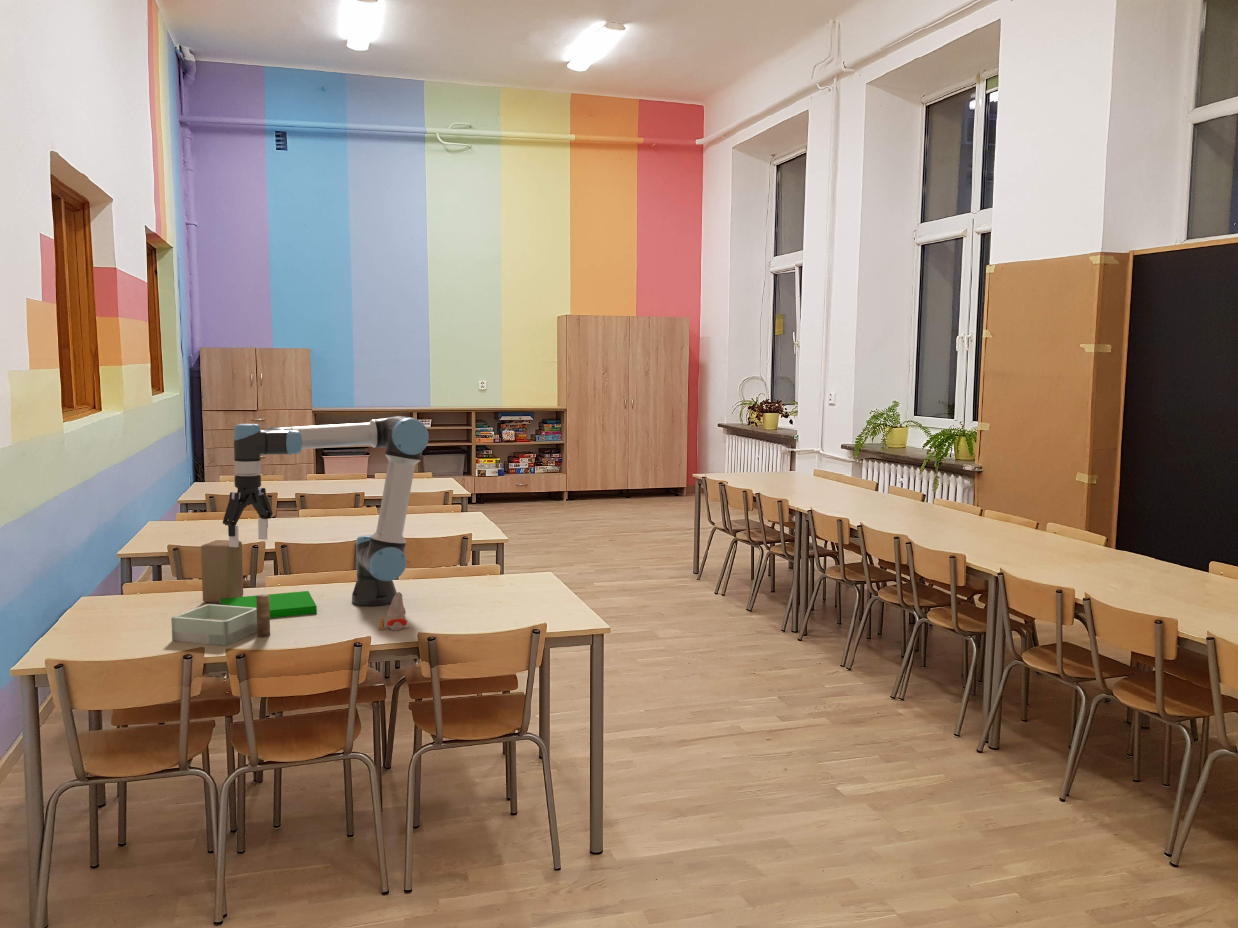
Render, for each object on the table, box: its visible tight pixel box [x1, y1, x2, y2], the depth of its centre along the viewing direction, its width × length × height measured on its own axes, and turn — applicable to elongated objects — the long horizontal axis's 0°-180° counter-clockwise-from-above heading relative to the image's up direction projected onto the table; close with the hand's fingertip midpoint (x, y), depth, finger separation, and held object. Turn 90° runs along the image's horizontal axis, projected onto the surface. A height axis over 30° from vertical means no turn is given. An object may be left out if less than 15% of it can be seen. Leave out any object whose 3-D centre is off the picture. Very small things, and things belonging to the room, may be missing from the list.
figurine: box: [378, 591, 410, 631], centre depth 282 cm, size 9×7×12 cm
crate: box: [170, 603, 257, 647], centre depth 272 cm, size 18×16×7 cm
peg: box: [255, 594, 271, 638], centre depth 273 cm, size 4×4×12 cm
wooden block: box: [200, 539, 244, 604], centre depth 313 cm, size 10×10×20 cm
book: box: [220, 590, 318, 619], centre depth 302 cm, size 22×28×3 cm
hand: (248, 543), depth 281 cm, fingers open, 13 cm apart
